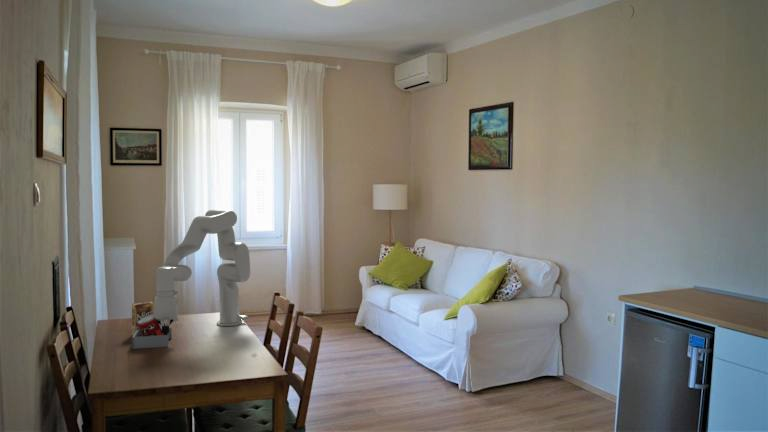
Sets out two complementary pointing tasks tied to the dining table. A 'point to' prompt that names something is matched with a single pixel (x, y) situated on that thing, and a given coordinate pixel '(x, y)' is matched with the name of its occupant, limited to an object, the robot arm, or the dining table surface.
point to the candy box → (140, 313)
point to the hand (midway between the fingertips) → (165, 334)
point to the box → (150, 340)
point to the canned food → (149, 326)
